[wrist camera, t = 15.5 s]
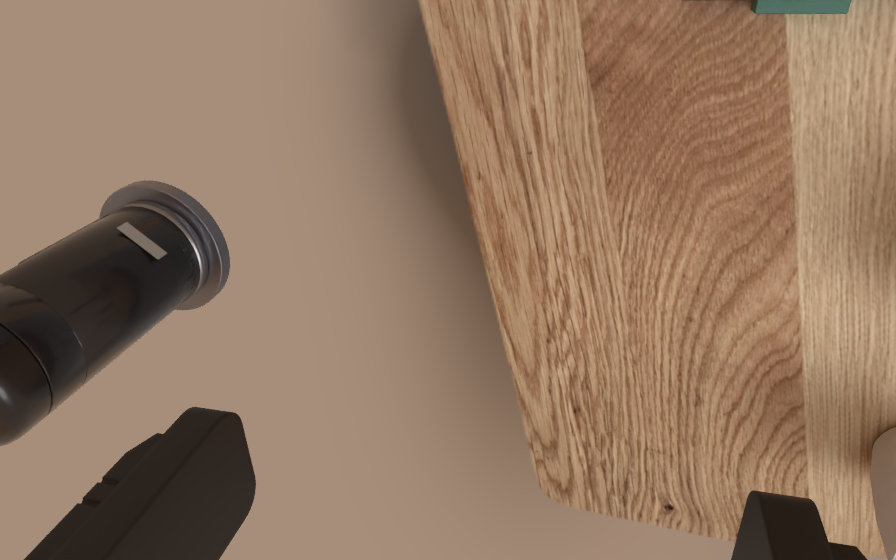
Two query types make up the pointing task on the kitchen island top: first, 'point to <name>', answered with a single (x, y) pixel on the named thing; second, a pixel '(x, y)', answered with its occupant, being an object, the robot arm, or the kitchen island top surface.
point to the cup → (885, 488)
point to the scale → (800, 6)
